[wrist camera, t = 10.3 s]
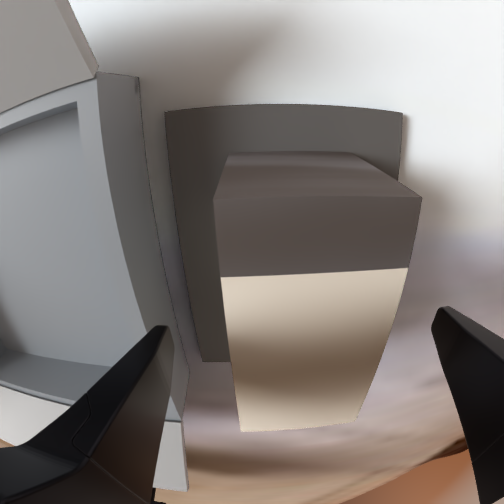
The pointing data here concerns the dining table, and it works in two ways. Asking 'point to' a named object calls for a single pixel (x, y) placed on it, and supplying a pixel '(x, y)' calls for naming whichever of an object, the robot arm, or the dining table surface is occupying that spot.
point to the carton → (74, 230)
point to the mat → (253, 140)
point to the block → (309, 281)
